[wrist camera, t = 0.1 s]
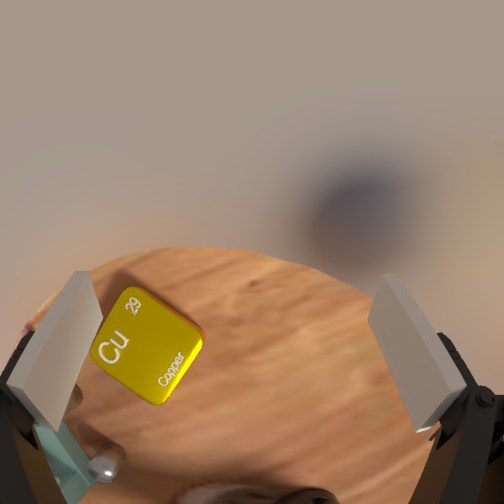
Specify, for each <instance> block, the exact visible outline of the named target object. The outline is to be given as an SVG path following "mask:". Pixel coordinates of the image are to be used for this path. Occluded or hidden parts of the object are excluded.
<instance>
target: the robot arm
mask: <svg viewBox="0 0 504 504" xmlns="http://www.w3.org/2000/svg"><path fill="white" fill-rule="evenodd" d="M102 320H103V316H102V313H101V309H100V306H99V303H98V300H97V297H96V293H95V290H94V287H93V283H92V280H91V276H90V273H89V272H88V271H75V272H74V274H73V275H72V277H71V278H70V280H69V281H68V282H67V284H66V285H65V286H64V288H63V289H62V291H61V292H60V294H59V295H58V297H57V298H56V300H55V301H54V303H53V304H52V306H51V307H50V309H49V310H48V312H47V313H46V315H45V316H44V318H43V320H42V321H41V323H40V324H39V326H38V328H37V329H36V331H30V332H29V333H27V334H26V335H25V336H24V337H23V338H22V339H21V341H20V343H19V344H18V346H17V349H16V350H15V351H14V353H13V354H12V357H11V358H10V360H9V361H8V363H7V365H6V367H5V369H4V371H3V372H2V374H1V376H0V504H68V503H67V502H66V500H65V498H64V496H63V494H62V492H61V490H60V488H59V485H58V483H57V481H56V479H55V477H54V475H53V472H52V470H51V468H50V466H49V463H48V461H47V458H46V456H45V453H44V451H43V448H42V446H41V443H40V440H39V437H38V435H37V432H36V430H35V428H34V426H33V423H34V421H35V420H36V421H37V422H38V423H39V425H40V426H41V427H43V428H46V429H49V430H52V431H55V432H58V429H59V426H60V423H61V420H62V418H63V415H64V412H65V409H66V406H67V404H68V401H69V398H70V396H71V393H72V390H73V388H74V385H75V383H76V380H77V378H78V375H79V373H80V370H81V368H82V365H83V363H84V360H85V358H86V356H87V353H88V351H89V349H90V346H91V344H92V342H93V340H94V337H95V335H96V333H97V331H98V329H99V326H100V324H101V322H102ZM368 322H369V324H370V326H371V328H372V330H373V333H374V335H375V337H376V339H377V341H378V343H379V346H380V348H381V350H382V352H383V355H384V357H385V359H386V361H387V364H388V366H389V368H390V371H391V373H392V375H393V377H394V380H395V382H396V385H397V387H398V389H399V392H400V394H401V397H402V399H403V402H404V404H405V407H406V409H407V412H408V414H409V417H410V419H411V422H412V424H413V427H414V430H415V432H420V431H423V430H427V429H430V428H432V427H433V426H434V425H435V423H436V422H437V421H438V420H439V421H440V424H441V427H440V428H439V429H438V430H437V431H436V432H435V433H434V434H433V435H432V436H431V437H430V439H429V441H432V440H433V439H434V438H435V437H436V438H435V441H434V443H433V446H432V449H431V452H430V454H429V457H428V460H427V462H426V465H425V467H424V470H423V472H422V475H421V477H420V479H419V482H418V484H417V486H416V488H415V491H414V493H413V495H412V497H411V499H410V501H409V503H408V504H504V395H495V394H494V393H493V392H492V391H491V389H489V388H487V387H486V386H478V384H477V383H476V381H475V380H474V378H473V376H472V375H471V373H470V371H469V369H468V368H467V366H466V364H465V362H464V361H463V359H461V356H460V355H459V353H458V351H456V348H455V346H454V345H453V343H452V342H451V340H450V339H449V338H448V337H447V336H445V335H444V334H443V333H442V332H441V333H436V332H435V330H434V329H433V327H432V326H431V324H430V323H429V321H428V319H427V318H426V316H425V315H424V313H423V312H422V310H421V309H420V307H419V306H418V304H417V303H416V301H415V300H414V298H413V297H412V296H411V294H410V293H409V291H408V290H407V288H406V287H405V286H404V284H403V283H402V281H401V280H400V278H399V277H398V276H397V274H382V276H381V279H380V283H379V286H378V289H377V293H376V296H375V299H374V302H373V305H372V308H371V311H370V314H369V317H368ZM275 504H340V503H339V501H338V500H337V498H336V497H335V496H334V495H333V494H331V493H330V492H327V491H324V490H303V491H299V492H295V493H292V494H289V495H287V496H285V497H283V498H281V499H280V500H278V501H277V502H276V503H275Z"/></svg>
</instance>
